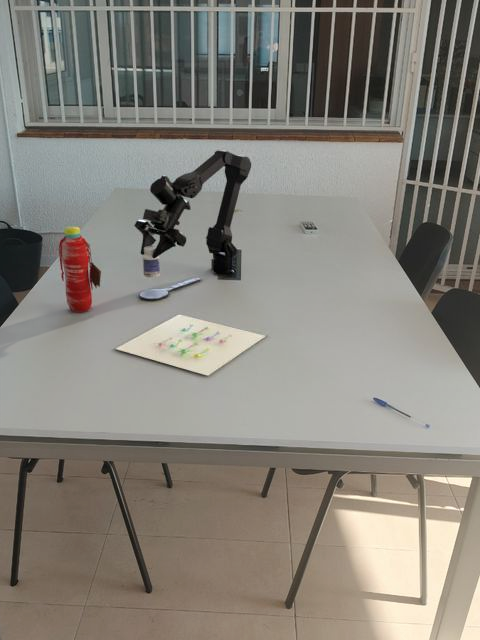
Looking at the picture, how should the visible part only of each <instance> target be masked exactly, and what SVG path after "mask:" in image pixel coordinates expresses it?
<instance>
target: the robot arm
mask: <svg viewBox="0 0 480 640" xmlns="http://www.w3.org/2000/svg"><path fill="white" fill-rule="evenodd" d="M223 167H224V175H225V179H226V182H225V186H224V190H223V195H222V198H221V202H220V207H219V211H218V214H217V217H216V223H215V224H214V225H213V226H212V227H211V226H209V227H208V229H207V235H206V237H205V240H206V241H205V244H206V246H207V250H208V253H209V254H212V257H211V261H210V263H211V267H210V268H211V269H210V270H211V271H212V272H213V273H215V275H226V274H234V272H235V271H234V270H233V258H234V256H237V251H238V248H237V247H236V245H234V244H233V242H232V241H233V232H232V228H231V225H232V221H233V217H234V214H235V209H236V206H237V202H238V197H239V194H240V190H241V186H242V185H243V183H244V182H245V181H246V180H247V178H248V177H249V175H250V171H251V169H252V162H251V159H250V158H249V156H246V155H240V154H234V153H232V152H230V151H229V150H222V149H218V150H216V151H215V152H214V154H212V155H211V156H210V157H209V158H207V159H206V160H205V161H204V162H203V163H202V164H200V165H199V166H198V167H197V168H195V169H194V170H193V171H190V172H187V173H183V174H182V175H180V176H178V177H176V179H175V180H174V181H171V179H170V178H169V177H168V176H167V175H161V176H160V178H158V179H156V180H155V181H153V182H152V183H151V185H150V187H149V191H150V194H152V195H153V197H154V198H156V200H157V201H158V202H159V203H160V204H161V205H164V207H163V208H162V209H158V210H157V211H156V210H153V209H148V208H145V209H144V212H143V216H142V219H136V222H135V223H134V225H133V226H134V227H135V228H136V229H137V230H138V231H139V232H140V233H141V235H142V242H141V247H140V255H142V256H143V255H144V254H145V253H144V247H146V246H154V244H155V243H156V241H157V239H156V238H155V237H154V236H155V235H157V236H159V241H158V243H157V245H156V246H155V247H156V249H155V251H154V253H153V255H152V257H153V258H154V259H155V258H156V257H158V256H159V257H160V256H161V255H163V254H164V253H165V252H167V251H169V250H170V249H172V248H176V247H177V246H179V247H181V248H182V247H183V248H184V247H185V245H186V243H187V237H186V236H185V234H184V233H182V231H180V229H178V228H175V227H176V226H179V225H180V224H181V223H180V221H179V219H180V218H181V216H182V214H183V213H184V211H185V210H187V211H191V205H190V201H189V200H186V199H185V198H189V199H194V198H196V197H197V196H198V195H199V193H200V192H201V191H202V189H203V185H204V184H205V183H206V182H207V181H208V180H209V179H210V178H212V177H213V176H214V175H215V174H216V173H218V172H219V171H220V170H221V169H223ZM148 221H150V222H148Z"/></svg>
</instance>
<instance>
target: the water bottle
mask: <svg viewBox="0 0 480 640" xmlns="http://www.w3.org/2000/svg"><path fill="white" fill-rule="evenodd" d="M58 254H59V255H58V256H59V265H60V266H59V267H60V270H61V280H62V282H64V281H65V297H66V298H65V299H66V303H67V305H68V307H69V309H70V311H72V312H73V313H84V312H88V311H89V310H90V309H91V308H92V304H93V293H92V291H93V290H94V289H93V288H94V287H95V289H97V288H100V287H101V275H102V270H100V268H98V267H97V266H96V265H95V264H94V262H93V258H92V251H91V243H89V242H87V240H86V239H85V238H84V237H83V236H82V235H81V229H80V227H78V226H68V227H65V229H64V236H63V237H62V238H61V239H60V241H59V244H58ZM64 279H65V280H64ZM93 286H94V287H93Z"/></svg>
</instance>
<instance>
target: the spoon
mask: <svg viewBox="0 0 480 640" xmlns="http://www.w3.org/2000/svg"><path fill="white" fill-rule="evenodd" d="M199 282H201V278H200V277H193V278H189V279H187V280H184V281H182V282H179V283H176V284H173V285H170V286H169V287H166V288H150V289H147V290H144V291H142V292H140V293H139V298H140V299H141V300H143V301H146V302H157V301H161V300H163V299H166V298H168V297H169V293H170V292H173V291H176V290H179V289H182V288H185V287H188V286H191V285H193V284H196V283H199Z"/></svg>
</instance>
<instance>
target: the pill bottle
mask: <svg viewBox="0 0 480 640" xmlns="http://www.w3.org/2000/svg"><path fill="white" fill-rule="evenodd" d="M156 247H157V246H154V245H152V246H146V247H144V253H145V254H144V255H142V257H141V258H142V259H141V260H142V274H143V277H145V278H150V279H151V278H153V279H154V278H157V277H159V276H160V275H161V268H160V267H161V265H160V255H159V256H158V257H156V258H155V259H154V258H153V257H152V255H153V253H154V251H155V249H156Z"/></svg>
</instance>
